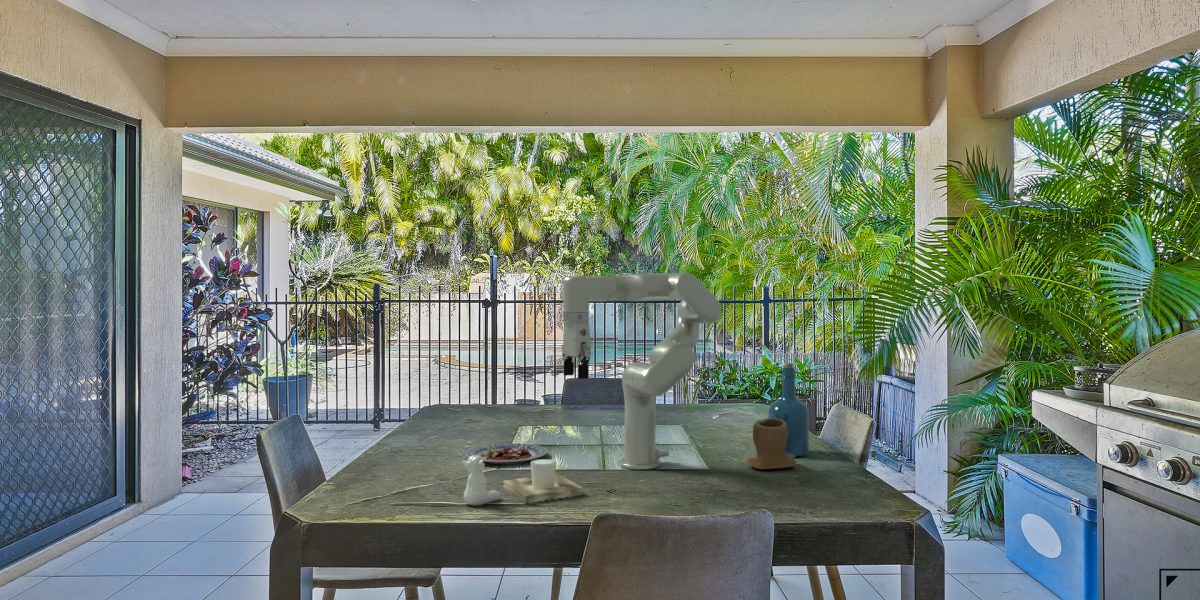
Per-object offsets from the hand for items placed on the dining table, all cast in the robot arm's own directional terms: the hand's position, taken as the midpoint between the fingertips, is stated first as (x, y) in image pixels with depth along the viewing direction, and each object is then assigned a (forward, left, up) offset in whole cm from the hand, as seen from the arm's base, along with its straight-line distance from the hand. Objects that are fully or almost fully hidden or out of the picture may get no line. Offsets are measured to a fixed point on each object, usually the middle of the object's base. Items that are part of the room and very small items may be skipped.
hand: (575, 376), depth 199 cm
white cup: (+16, +13, -28) cm, 34 cm away
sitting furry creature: (+34, +14, -29) cm, 47 cm away
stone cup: (-56, +22, -29) cm, 67 cm away
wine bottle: (-74, +9, -28) cm, 80 cm away
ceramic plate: (+11, -28, -29) cm, 42 cm away
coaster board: (+16, +13, -28) cm, 35 cm away
